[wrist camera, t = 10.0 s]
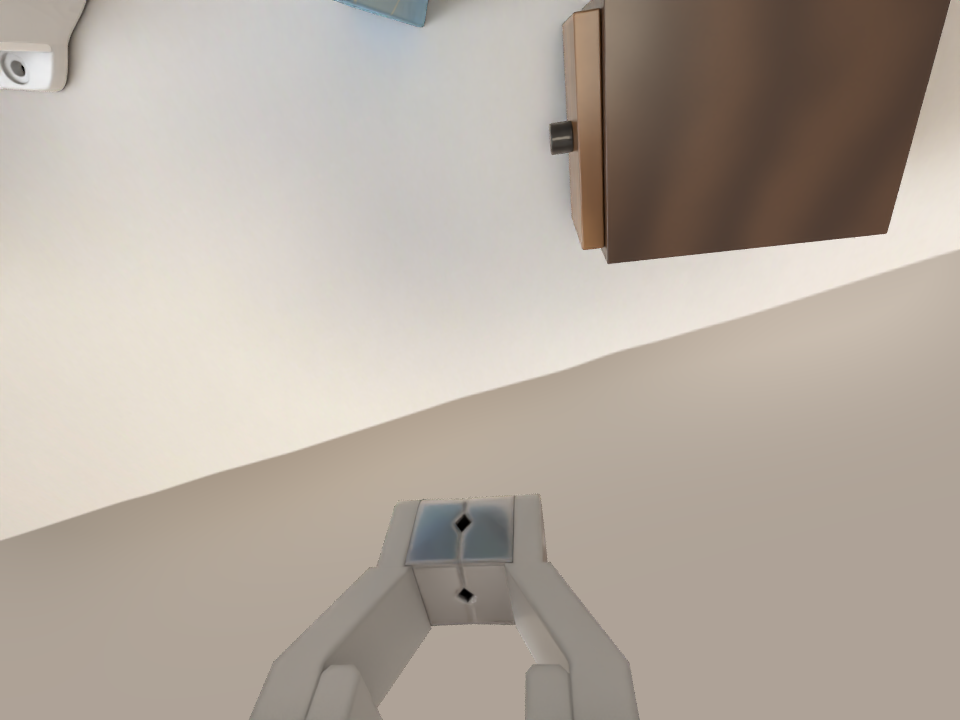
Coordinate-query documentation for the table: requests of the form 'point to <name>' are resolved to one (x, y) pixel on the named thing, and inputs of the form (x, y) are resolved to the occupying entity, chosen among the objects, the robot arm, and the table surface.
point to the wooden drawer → (583, 125)
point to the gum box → (393, 9)
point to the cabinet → (757, 119)
